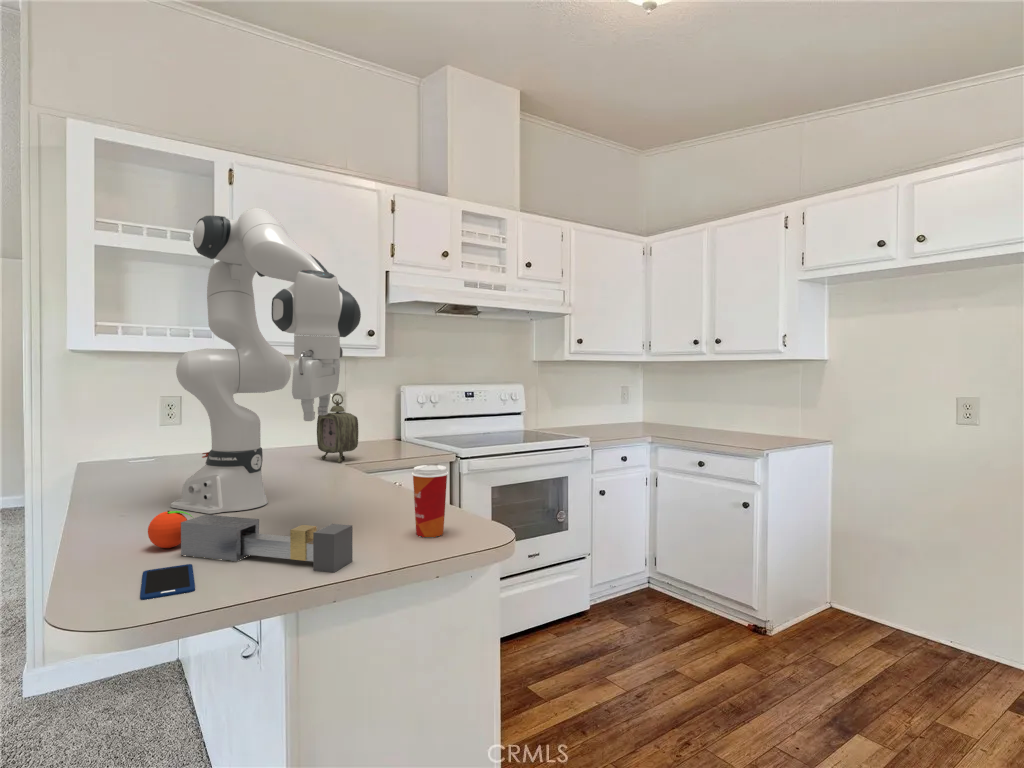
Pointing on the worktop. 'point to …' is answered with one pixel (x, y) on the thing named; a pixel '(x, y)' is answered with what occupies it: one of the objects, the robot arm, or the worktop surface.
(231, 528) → the sleeve
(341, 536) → the socket
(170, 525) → the clementine
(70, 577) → the worktop surface
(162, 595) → the cell phone
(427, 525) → the paper cup
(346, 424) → the tabletop clock
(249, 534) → the gold-banded square post
